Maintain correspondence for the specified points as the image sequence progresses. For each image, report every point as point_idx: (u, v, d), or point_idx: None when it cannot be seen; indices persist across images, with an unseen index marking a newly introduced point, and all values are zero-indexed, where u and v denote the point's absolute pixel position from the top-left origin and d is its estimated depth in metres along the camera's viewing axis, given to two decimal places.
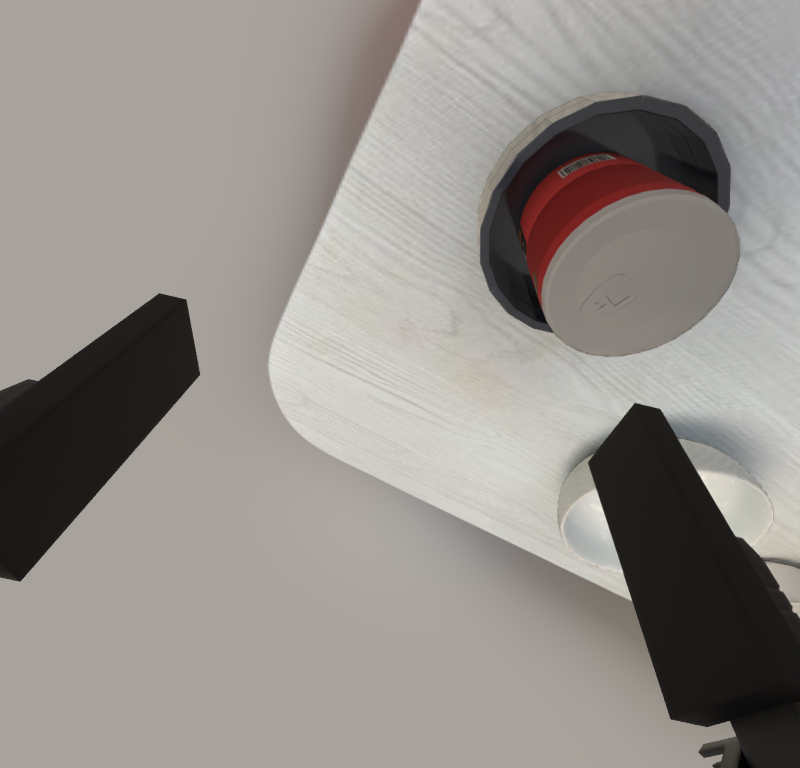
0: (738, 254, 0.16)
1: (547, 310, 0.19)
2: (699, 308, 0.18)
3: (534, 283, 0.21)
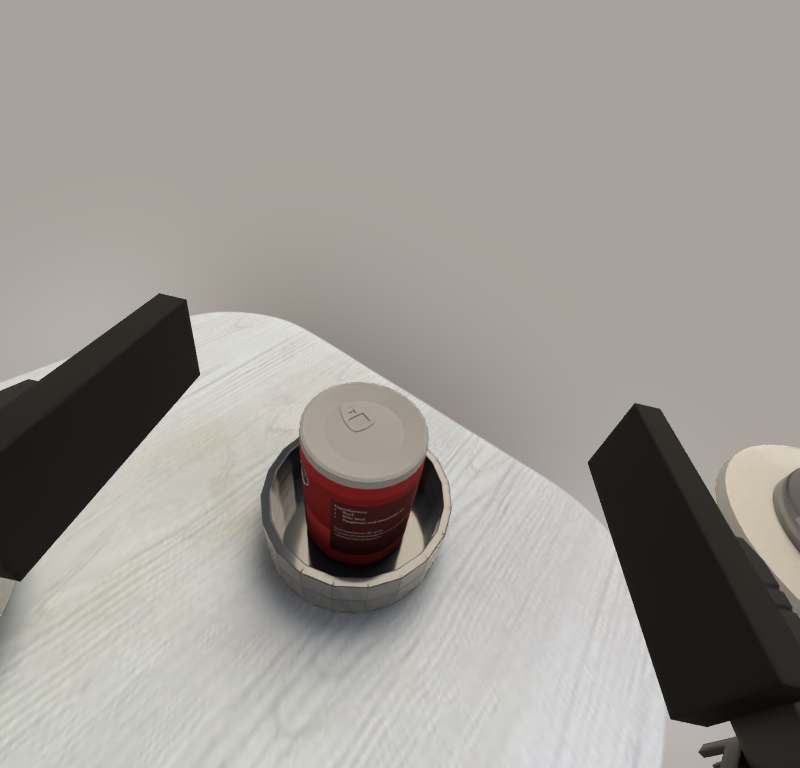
0: (381, 482, 0.20)
1: (354, 382, 0.26)
2: (337, 466, 0.21)
3: None
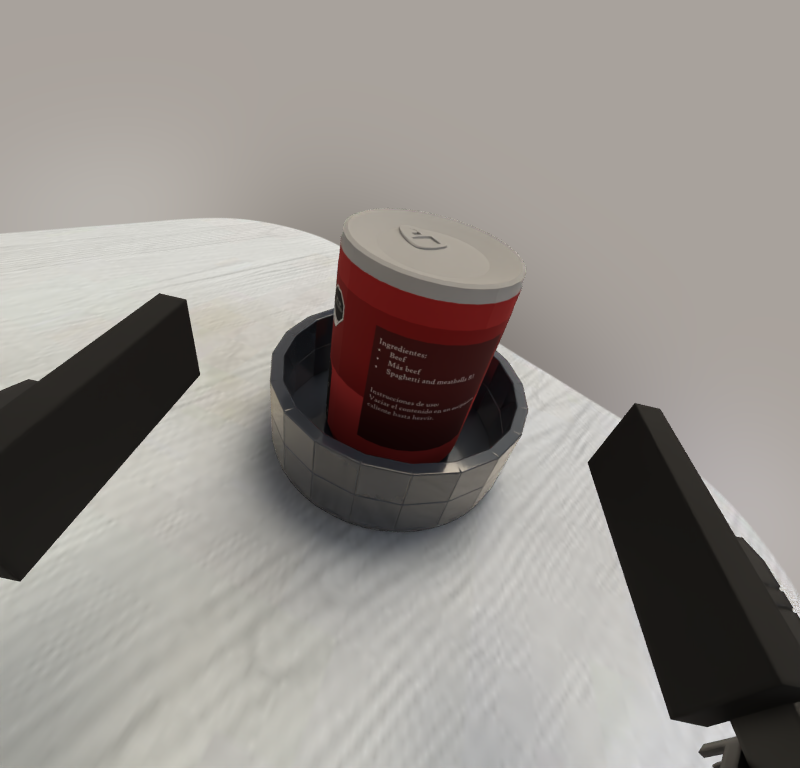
0: (461, 290, 0.13)
1: (419, 211, 0.19)
2: (395, 264, 0.14)
3: None
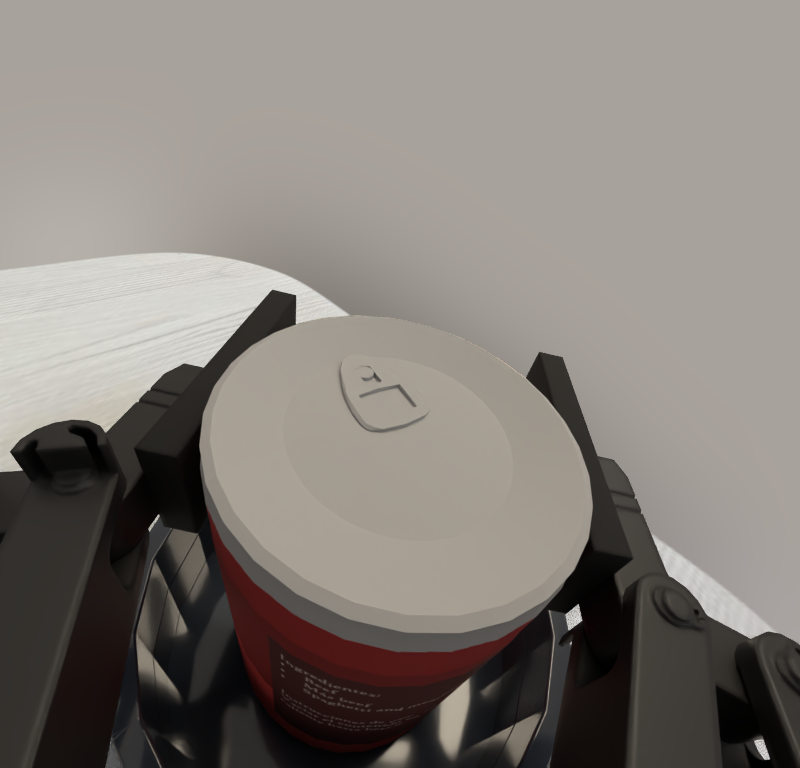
0: (456, 635, 0.05)
1: (384, 317, 0.11)
2: (295, 545, 0.06)
3: None
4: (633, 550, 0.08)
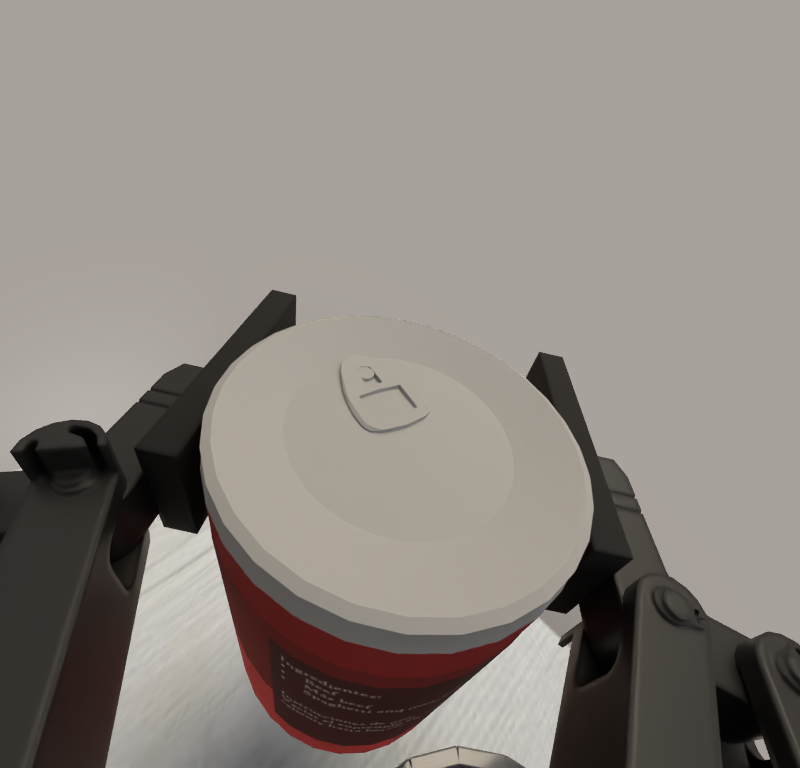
0: (457, 637, 0.05)
1: None
2: (295, 546, 0.06)
3: None
4: (633, 549, 0.08)
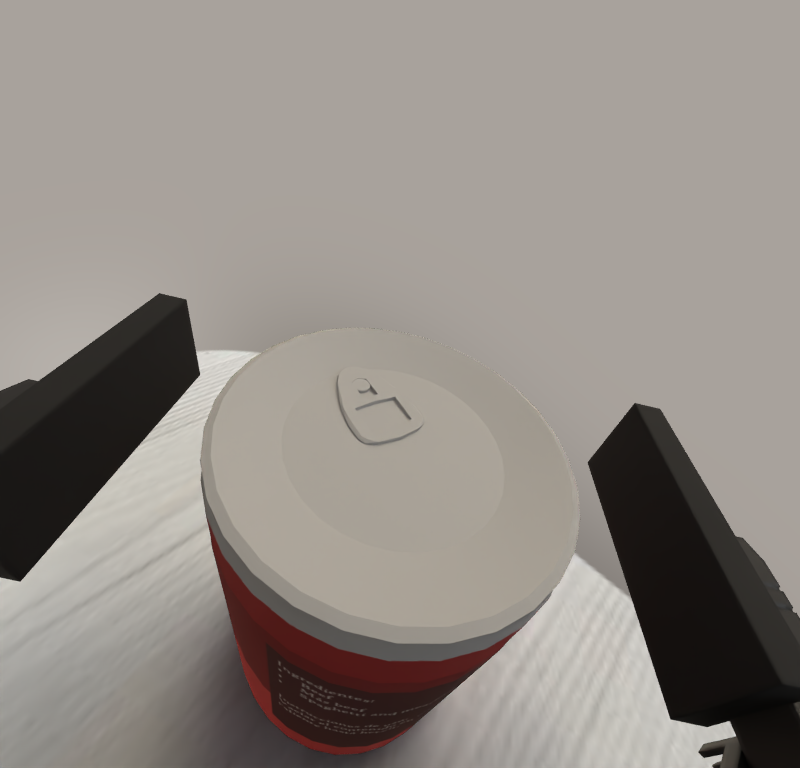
0: (445, 646, 0.05)
1: (380, 329, 0.11)
2: (292, 558, 0.06)
3: None
4: None
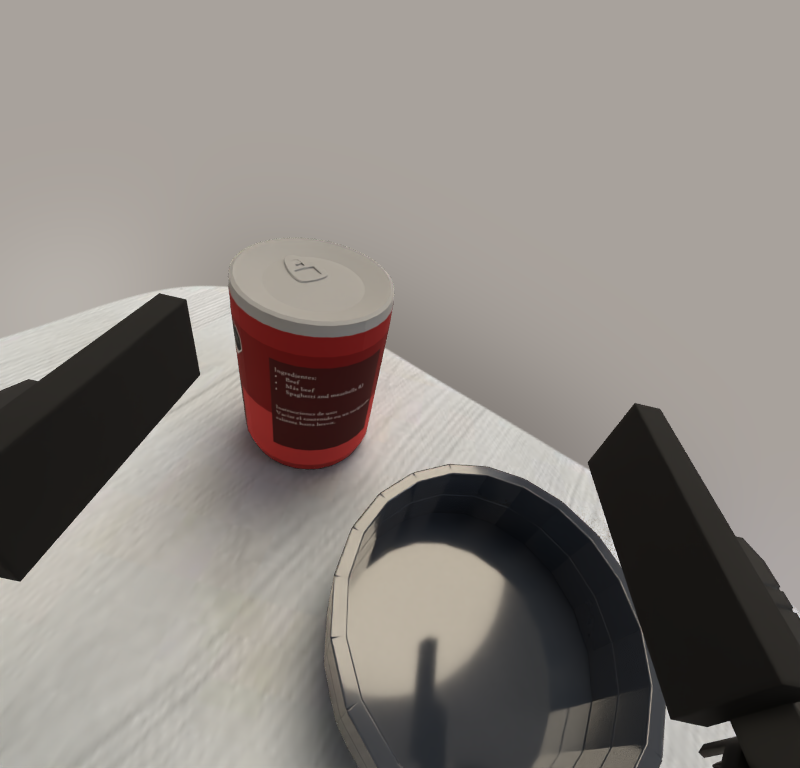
0: (333, 327, 0.16)
1: (304, 238, 0.21)
2: (275, 308, 0.16)
3: None
4: None
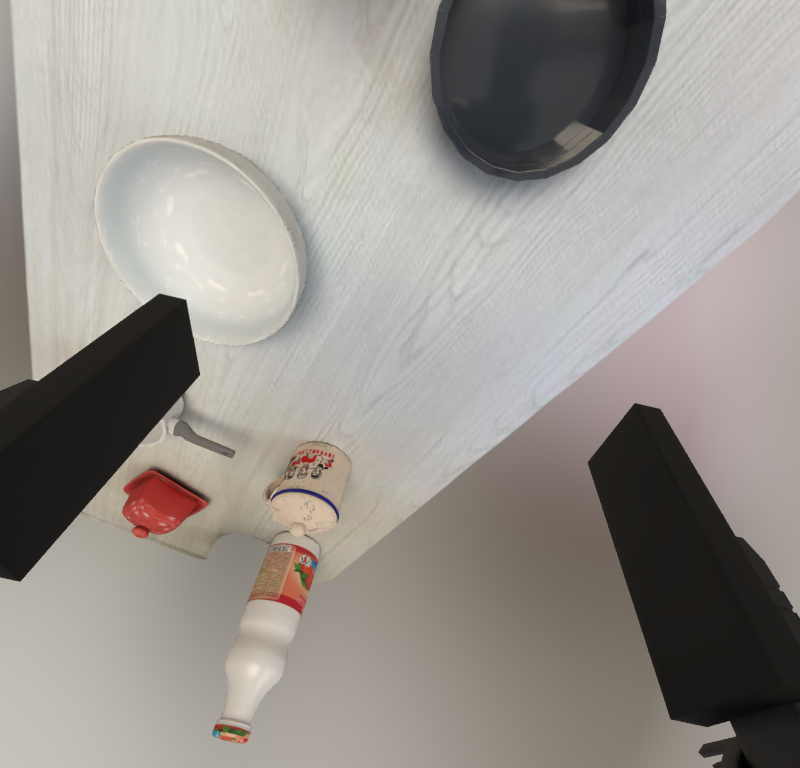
0: None
1: None
2: None
3: None
4: None
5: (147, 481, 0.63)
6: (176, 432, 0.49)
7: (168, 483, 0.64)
